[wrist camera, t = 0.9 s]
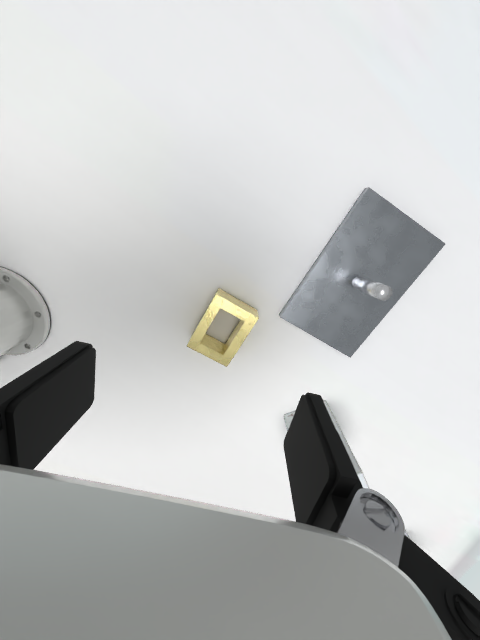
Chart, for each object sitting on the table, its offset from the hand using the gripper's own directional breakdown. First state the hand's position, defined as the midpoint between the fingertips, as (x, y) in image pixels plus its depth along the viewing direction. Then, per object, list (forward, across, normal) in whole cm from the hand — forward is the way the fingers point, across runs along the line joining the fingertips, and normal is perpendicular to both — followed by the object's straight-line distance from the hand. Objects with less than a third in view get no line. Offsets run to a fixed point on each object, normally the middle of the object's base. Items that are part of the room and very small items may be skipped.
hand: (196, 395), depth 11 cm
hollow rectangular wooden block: (+23, 0, +5) cm, 23 cm away
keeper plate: (+23, -16, -5) cm, 28 cm away
